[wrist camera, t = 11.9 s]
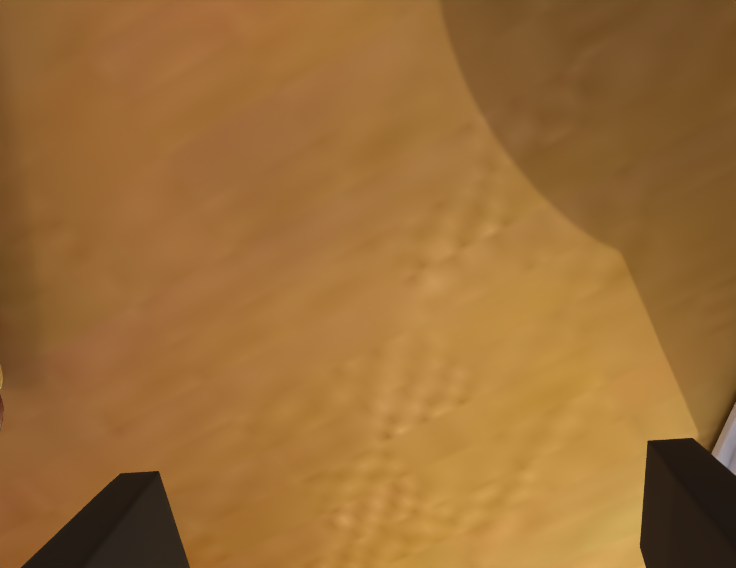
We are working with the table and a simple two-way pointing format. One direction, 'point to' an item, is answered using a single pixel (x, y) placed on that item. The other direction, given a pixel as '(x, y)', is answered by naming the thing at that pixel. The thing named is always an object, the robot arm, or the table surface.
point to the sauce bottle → (0, 404)
